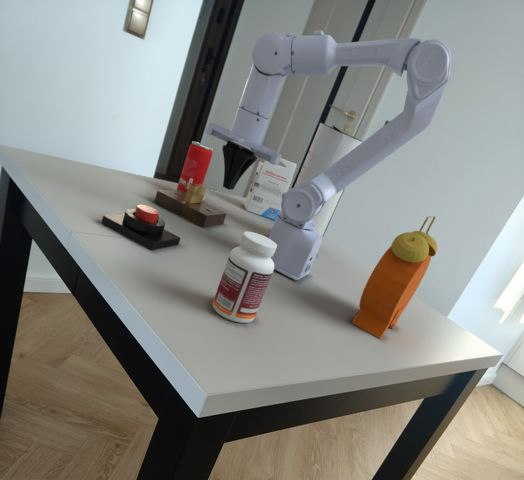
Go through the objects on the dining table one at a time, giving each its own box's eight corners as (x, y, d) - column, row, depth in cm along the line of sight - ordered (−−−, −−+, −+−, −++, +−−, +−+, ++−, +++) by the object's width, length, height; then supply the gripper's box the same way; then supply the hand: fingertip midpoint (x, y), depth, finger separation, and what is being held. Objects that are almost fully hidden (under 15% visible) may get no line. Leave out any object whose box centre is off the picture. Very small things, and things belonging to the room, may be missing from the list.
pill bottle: (253, 311, 73) (281, 240, 69) (253, 329, 68) (285, 254, 63) (212, 297, 72) (238, 224, 67) (209, 314, 67) (238, 237, 62)
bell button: (160, 223, 84) (163, 213, 83) (147, 224, 80) (150, 214, 80) (142, 214, 84) (145, 204, 84) (129, 215, 81) (132, 204, 80)
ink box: (273, 215, 135) (294, 161, 128) (276, 221, 130) (298, 164, 124) (243, 205, 132) (263, 148, 126) (245, 210, 128) (266, 152, 122)
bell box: (178, 244, 86) (183, 228, 85) (151, 250, 79) (157, 232, 78) (131, 219, 88) (135, 203, 87) (101, 223, 81) (105, 205, 80)
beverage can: (172, 191, 116) (188, 138, 111) (193, 197, 119) (209, 146, 114) (178, 199, 113) (195, 144, 108) (200, 204, 115) (217, 152, 110)
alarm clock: (368, 309, 95) (421, 208, 87) (397, 325, 93) (454, 223, 85) (345, 322, 84) (403, 207, 75) (378, 341, 82) (441, 225, 73)
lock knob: (196, 200, 107) (201, 182, 105) (201, 202, 107) (207, 185, 105) (184, 200, 103) (189, 182, 101) (189, 203, 102) (195, 185, 101)
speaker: (316, 260, 111) (370, 141, 100) (272, 243, 110) (321, 120, 99) (314, 248, 121) (363, 137, 110) (274, 231, 120) (319, 118, 108)
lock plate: (223, 224, 108) (227, 212, 107) (202, 227, 100) (206, 214, 99) (177, 200, 111) (181, 189, 110) (153, 202, 103) (157, 189, 102)
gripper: (208, 94, 87) (185, 171, 92) (281, 126, 84) (252, 205, 89) (226, 99, 93) (203, 172, 99) (295, 130, 90) (267, 203, 96)
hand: (228, 188), depth 95 cm, fingers closed
